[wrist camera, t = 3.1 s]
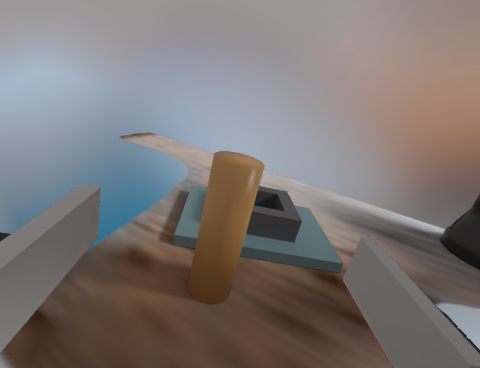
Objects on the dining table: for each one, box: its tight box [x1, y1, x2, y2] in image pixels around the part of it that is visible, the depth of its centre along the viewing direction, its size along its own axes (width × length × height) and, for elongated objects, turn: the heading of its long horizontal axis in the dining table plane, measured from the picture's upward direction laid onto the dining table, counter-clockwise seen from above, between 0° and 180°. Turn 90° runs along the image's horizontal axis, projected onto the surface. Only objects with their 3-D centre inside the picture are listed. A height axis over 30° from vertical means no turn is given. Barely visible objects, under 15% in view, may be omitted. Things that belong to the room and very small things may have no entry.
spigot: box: [188, 151, 264, 304], centre depth 25 cm, size 4×4×14 cm
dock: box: [173, 186, 343, 273], centre depth 40 cm, size 22×16×5 cm
